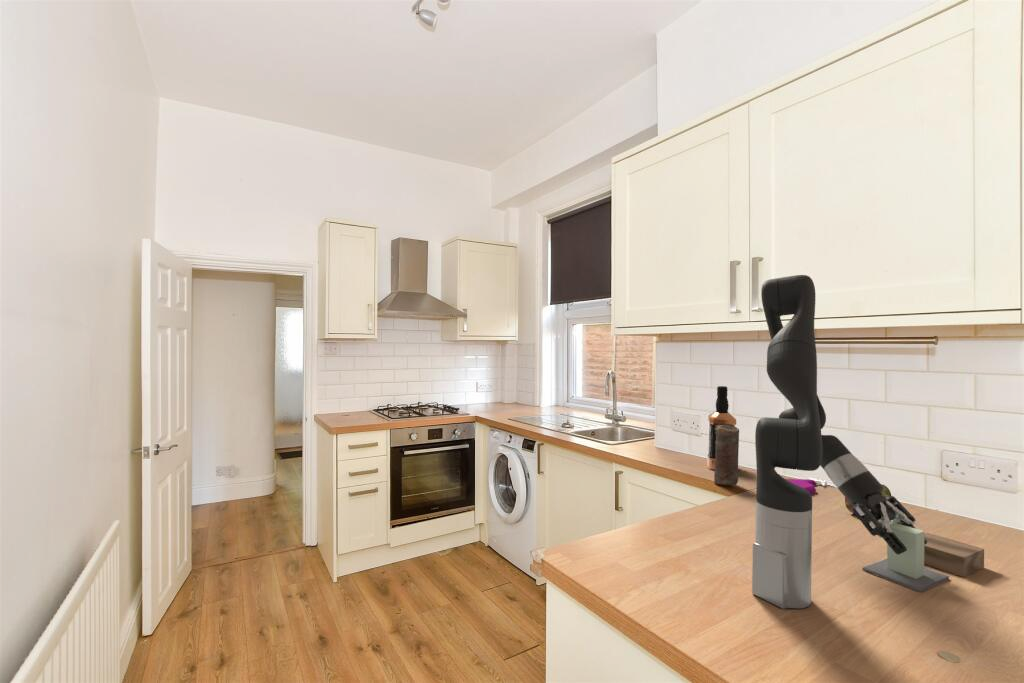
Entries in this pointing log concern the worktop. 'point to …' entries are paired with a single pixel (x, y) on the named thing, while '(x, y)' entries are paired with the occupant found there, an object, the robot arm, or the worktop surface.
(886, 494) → the tin
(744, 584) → the worktop surface
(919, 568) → the pale green rectangular block
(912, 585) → the mat
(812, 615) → the worktop surface
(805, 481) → the spray bottle
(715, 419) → the whiskey bottle
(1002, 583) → the worktop surface
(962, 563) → the brown rectangular box
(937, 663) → the worktop surface
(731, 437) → the candle
